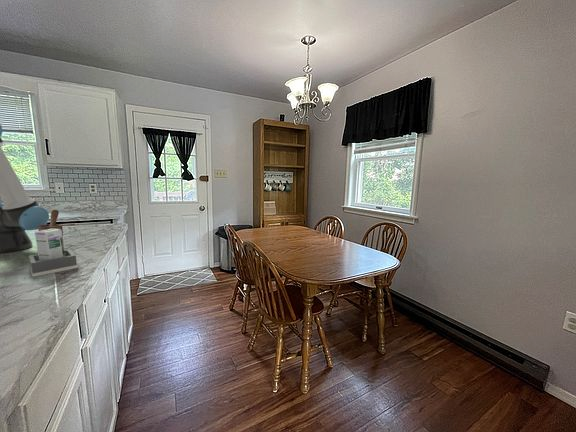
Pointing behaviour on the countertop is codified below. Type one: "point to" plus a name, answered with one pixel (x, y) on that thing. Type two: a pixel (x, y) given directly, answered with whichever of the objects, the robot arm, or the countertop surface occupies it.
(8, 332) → the countertop surface
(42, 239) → the syrup box
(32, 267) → the box
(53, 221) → the mortar and pestle
